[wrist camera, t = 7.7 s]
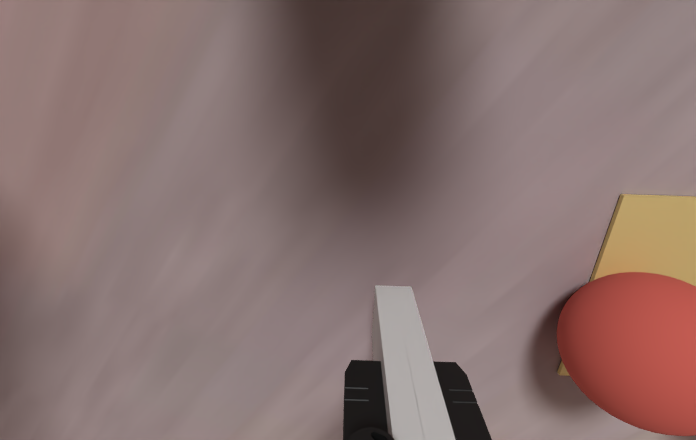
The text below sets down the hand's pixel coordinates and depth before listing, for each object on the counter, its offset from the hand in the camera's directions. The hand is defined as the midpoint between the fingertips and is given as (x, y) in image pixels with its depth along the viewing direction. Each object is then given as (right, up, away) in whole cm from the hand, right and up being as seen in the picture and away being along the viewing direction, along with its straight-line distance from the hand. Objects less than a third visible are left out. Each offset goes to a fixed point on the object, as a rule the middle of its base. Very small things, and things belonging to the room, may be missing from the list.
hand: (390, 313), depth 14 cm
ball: (+10, -1, -1) cm, 10 cm away
